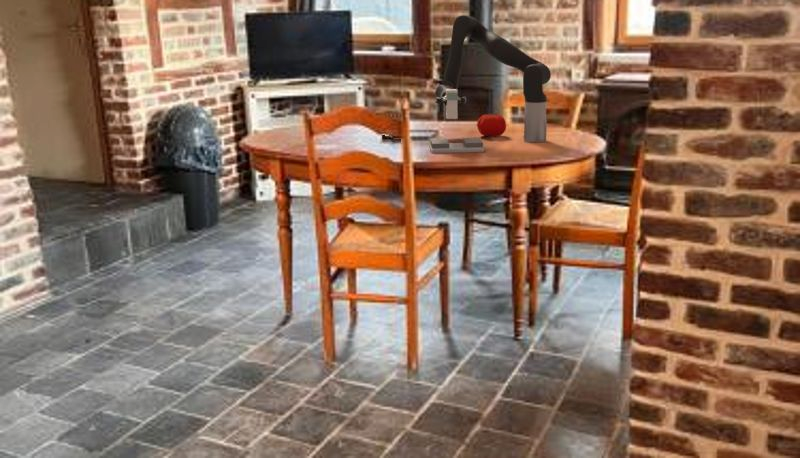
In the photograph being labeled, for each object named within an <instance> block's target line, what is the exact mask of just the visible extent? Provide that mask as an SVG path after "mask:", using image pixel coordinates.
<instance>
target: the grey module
mask: <svg viewBox="0 0 800 458" xmlns="http://www.w3.org/2000/svg"><path fill="white" fill-rule="evenodd" d="M458 97H459V92H458V93H457V89H446V99H447V105H446V106H445V112H446V113H445V115H446V116H445V117H446V119H447V120H457V119H458V117H459V115H458V114H459V112H458V111H459V110H458Z"/></svg>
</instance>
